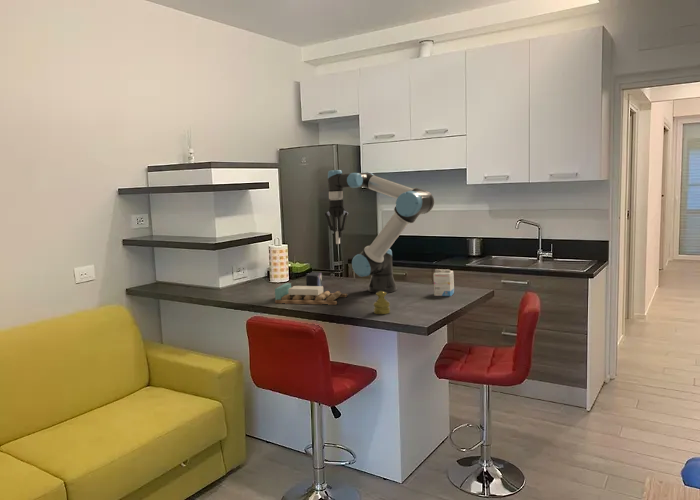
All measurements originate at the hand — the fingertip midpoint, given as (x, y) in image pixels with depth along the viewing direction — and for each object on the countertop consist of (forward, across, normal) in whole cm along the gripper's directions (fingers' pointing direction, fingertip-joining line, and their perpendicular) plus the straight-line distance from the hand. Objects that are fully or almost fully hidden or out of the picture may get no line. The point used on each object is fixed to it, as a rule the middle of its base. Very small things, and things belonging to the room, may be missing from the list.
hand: (338, 243), depth 296 cm
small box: (+27, +14, +2) cm, 30 cm away
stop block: (+26, +24, +20) cm, 41 cm away
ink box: (+27, -56, +1) cm, 62 cm away
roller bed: (+26, +9, +20) cm, 34 cm away
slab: (+23, +12, +20) cm, 33 cm away
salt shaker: (+27, -33, +42) cm, 60 cm away
